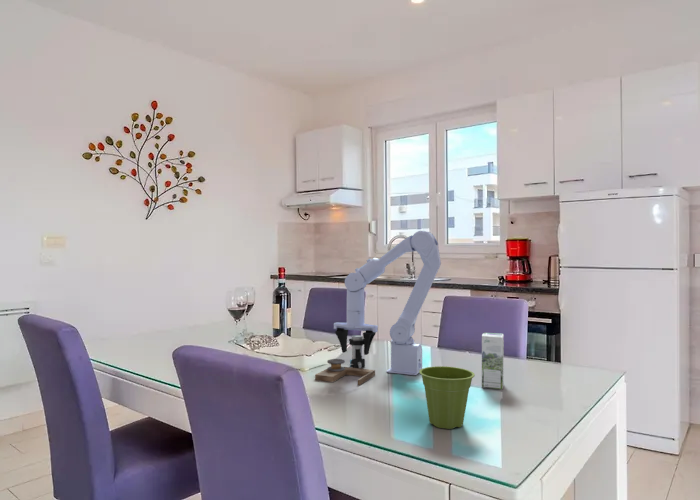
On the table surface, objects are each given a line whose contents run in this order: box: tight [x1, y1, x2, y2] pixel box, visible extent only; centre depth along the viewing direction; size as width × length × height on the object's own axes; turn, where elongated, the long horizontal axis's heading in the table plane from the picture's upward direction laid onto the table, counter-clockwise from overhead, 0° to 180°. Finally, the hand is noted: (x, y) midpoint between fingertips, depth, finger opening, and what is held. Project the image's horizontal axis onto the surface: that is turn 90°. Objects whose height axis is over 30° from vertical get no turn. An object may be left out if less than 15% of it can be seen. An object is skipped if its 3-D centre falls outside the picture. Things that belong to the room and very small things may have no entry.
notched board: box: [314, 358, 376, 386], centre depth 147 cm, size 14×12×4 cm
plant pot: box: [418, 365, 476, 430], centre depth 108 cm, size 12×12×11 cm
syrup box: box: [481, 332, 505, 390], centre depth 137 cm, size 6×6×14 cm
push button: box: [347, 334, 366, 369], centre depth 159 cm, size 7×5×10 cm
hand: (355, 353), depth 159 cm, fingers open, 7 cm apart
